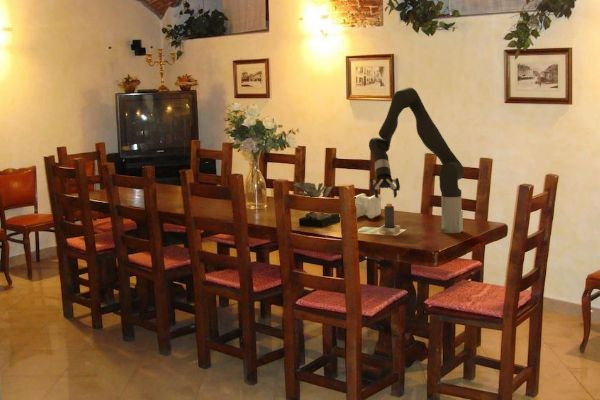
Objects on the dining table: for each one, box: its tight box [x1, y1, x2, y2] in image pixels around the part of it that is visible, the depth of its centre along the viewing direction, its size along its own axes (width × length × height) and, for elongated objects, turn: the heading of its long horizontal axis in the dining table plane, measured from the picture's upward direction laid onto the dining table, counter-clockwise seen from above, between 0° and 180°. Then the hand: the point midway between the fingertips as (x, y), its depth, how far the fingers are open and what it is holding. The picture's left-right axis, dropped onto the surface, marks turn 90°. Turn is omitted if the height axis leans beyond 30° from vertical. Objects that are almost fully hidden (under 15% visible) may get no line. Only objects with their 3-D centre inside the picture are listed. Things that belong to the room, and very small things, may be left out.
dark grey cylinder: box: [383, 203, 395, 228], centre depth 352 cm, size 4×4×13 cm
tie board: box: [357, 224, 407, 237], centre depth 355 cm, size 22×14×4 cm, turn 63°
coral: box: [293, 180, 341, 228], centre depth 385 cm, size 25×20×22 cm
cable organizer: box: [354, 193, 382, 220], centre depth 398 cm, size 15×11×12 cm
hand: (386, 197), depth 361 cm, fingers open, 8 cm apart
